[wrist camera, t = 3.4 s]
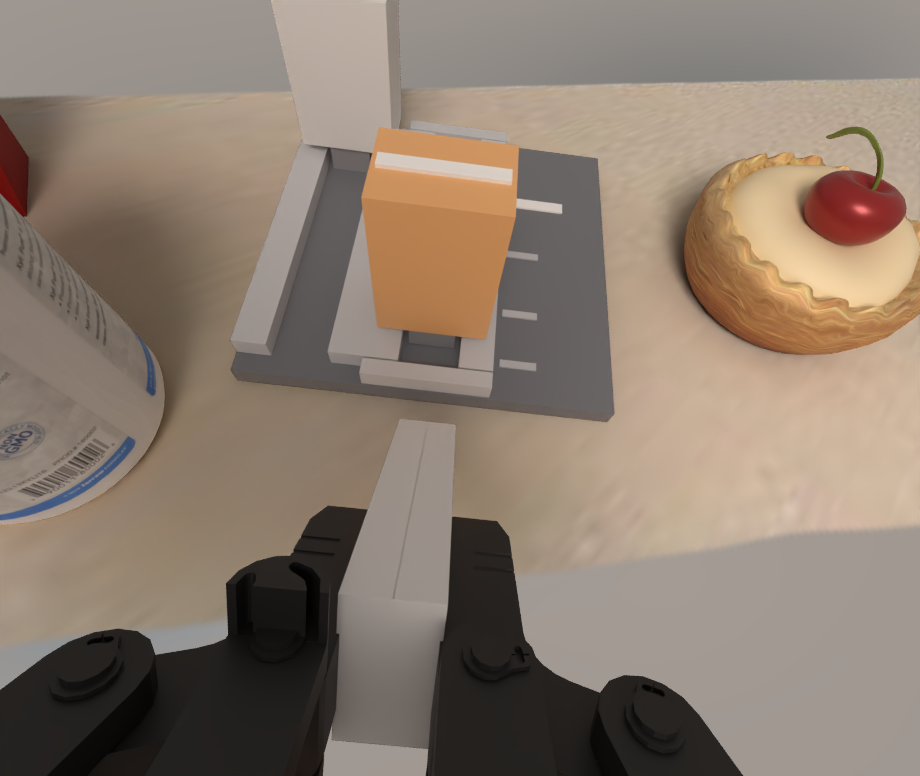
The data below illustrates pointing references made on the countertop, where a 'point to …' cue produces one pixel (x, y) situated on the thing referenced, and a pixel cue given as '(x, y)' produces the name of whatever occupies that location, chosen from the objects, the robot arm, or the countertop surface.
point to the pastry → (804, 253)
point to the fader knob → (438, 232)
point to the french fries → (13, 170)
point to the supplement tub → (65, 383)
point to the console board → (347, 262)
